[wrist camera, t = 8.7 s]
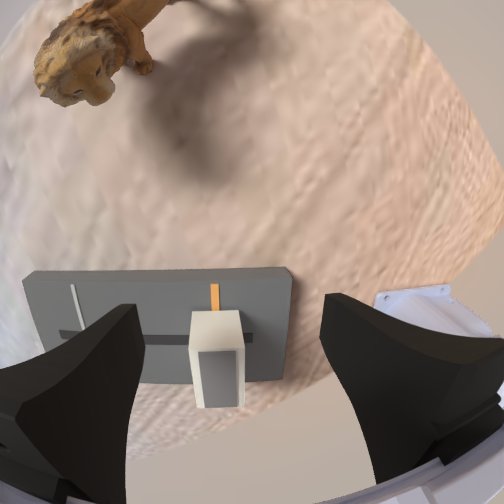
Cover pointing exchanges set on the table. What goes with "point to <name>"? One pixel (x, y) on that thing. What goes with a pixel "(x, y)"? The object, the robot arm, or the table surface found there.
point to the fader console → (169, 312)
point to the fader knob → (217, 359)
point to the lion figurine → (94, 50)
